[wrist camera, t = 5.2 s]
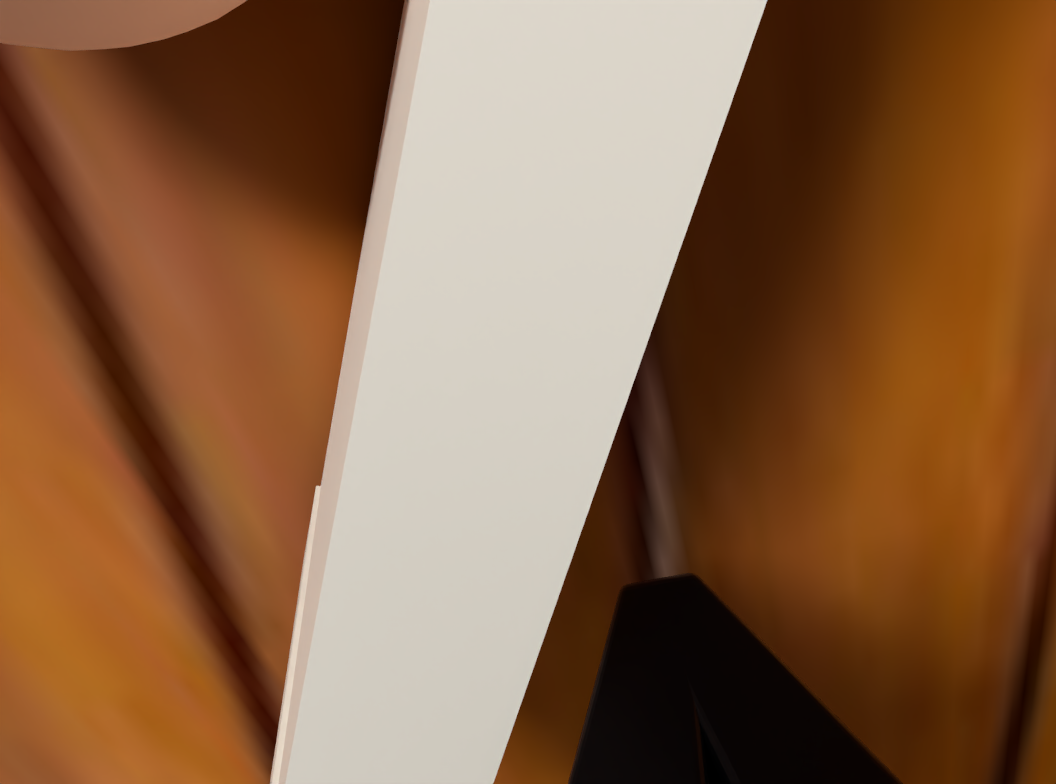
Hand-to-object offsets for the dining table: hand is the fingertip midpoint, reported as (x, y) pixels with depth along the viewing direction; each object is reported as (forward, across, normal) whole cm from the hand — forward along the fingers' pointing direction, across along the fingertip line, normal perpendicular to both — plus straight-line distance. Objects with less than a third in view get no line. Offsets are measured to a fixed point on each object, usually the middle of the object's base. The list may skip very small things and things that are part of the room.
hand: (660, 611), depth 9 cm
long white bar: (+2, +1, -5) cm, 5 cm away
